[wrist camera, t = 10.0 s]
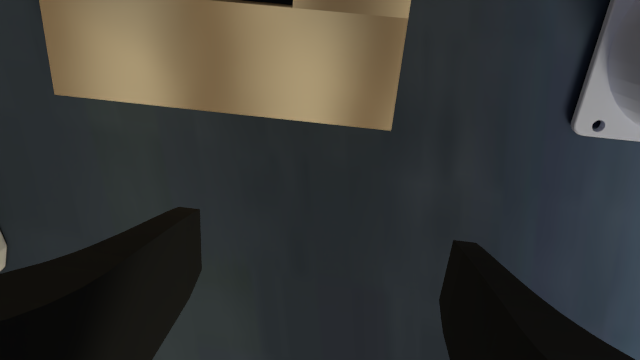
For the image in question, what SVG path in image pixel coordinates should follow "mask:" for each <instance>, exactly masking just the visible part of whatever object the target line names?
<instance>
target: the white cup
mask: <svg viewBox="0 0 640 360" xmlns="http://www.w3.org/2000/svg"><path fill="white" fill-rule="evenodd" d="M6 251H7V245H6V242H5V240H4V238H3V235H2V233H1V231H0V272H1V271H2V269H3V268H4V267H5V264H6Z"/></svg>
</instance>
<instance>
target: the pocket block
mask: <svg viewBox="0 0 640 360" xmlns="http://www.w3.org/2000/svg"><path fill="white" fill-rule="evenodd" d="M39 2H40V8H41V14H42V20H43V27H44V33H45V39H46V45H47V51H48V57H49V63H50V69H51V75H52V82H53V88H54V94H55V95H63V96H73V97H82V98H91V99H101V100H110V101H119V102H129V103H138V104H147V105H157V106H166V107H175V108H185V109H194V110H203V111H213V112H222V113H231V114H241V115H250V116H259V117H269V118H278V119H287V120H296V121H306V122H315V123H324V124H334V125H343V126H352V127H362V128H371V129H380V130H390V131H391V127H392V121H393V114H394V107H395V101H396V94H397V88H398V81H399V75H400V68H401V62H402V55H403V49H404V42H405V36H406V29H407V23H408V16H409V9H410V3H411V0H293V5H286V4H275V3H264V2H254V1H243V0H39Z"/></svg>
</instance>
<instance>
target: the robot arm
mask: <svg viewBox="0 0 640 360" xmlns="http://www.w3.org/2000/svg"><path fill="white" fill-rule="evenodd" d="M597 120H600V121H601V123H600V126H599V127H598V128H596V129H592V125H593V123H594V122H596V121H597ZM571 128H572V130H573V131H574V132H576V133H577V134H579V135H582V136H592V137H601V138H611V139H620V140H630V141H639V142H640V0H610V3H609V6H608V9H607V13H606V16H605V19H604V22H603V25H602V28H601V31H600V34H599V37H598V40H597V43H596V47H595V50H594V53H593V56H592V59H591V62H590V65H589V68H588V71H587V74H586V78H585V81H584V84H583V87H582V90H581V93H580V96H579V99H578V102H577V105H576V108H575V112H574V115H573V118H572V121H571ZM201 270H202V264H201V233H200V209H192V208H184V207H178V208H175V209H172V210H170V211H167V212H165V213H163V214H161V215H159V216H156V217H154V218H152V219H150V220H148V221H146V222H144V223H142V224H139V225H137V226H135V227H133V228H131V229H129V230H127V231H125V232H122V233H120V234H118V235H115V236H113V237H111V238H108V239H106V240H104V241H101V242H99V243H97V244H94V245H92V246H90V247H87V248H84V249H82V250H79V251H76V252H74V253H71V254H68V255H65V256H62V257H59V258H56V259H53V260H50V261H47V262H43V263H40V264H36V265H32V266H29V267H25V268H21V269H17V270H13V271H10V272H6V273H2V274H0V360H152V359H153V357H154V356H155V354H156V352H157V351H158V349H159V347H160V346H161V344H162V343H163V341H164V339H165V338H166V336H167V334H168V333H169V331H170V330H171V328H172V326H173V325H174V323H175V321H176V320H177V318H178V316H179V315H180V313H181V311H182V310H183V308H184V306H185V305H186V303H187V301H188V300H189V298H190V296H191V293H192V291H193V289H194V287H195V284H196V282H197V279H198V277H199V274H200V272H201ZM439 302H440V312H441V321H442V328H443V334H444V338H445V342H446V346H447V350H448V354H449V358H450V360H635V359H633V358H632V357H630V356H628V355H626V354H625V353H623V352H621V351H619V350H618V349H616V348H614V347H612V346H611V345H609V344H607V343H605V342H604V341H602V340H601V339H599V338H597V337H596V336H594V335H592V334H591V333H589V332H588V331H586V330H585V329H583V328H582V327H580V326H579V325H577V324H576V323H574V322H573V321H571V320H570V319H568V318H567V317H565V316H564V315H563V314H561V313H560V312H558V311H557V310H556V309H554V308H553V307H552V306H551V305H549V304H548V303H547V302H545V301H544V300H543V299H542V298H540V297H539V296H538V295H536V294H535V293H534V292H533V291H531V290H530V289H529V288H528V287H527V286H525V285H524V284H523V283H522V282H521V281H520V280H518V279H517V278H516V277H515V276H514V275H513V274H511V273H510V272H509V271H508V270H507V269H506V268H505V267H504V266H502V265H501V264H500V263H499V262H498V261H497V260H496V259H495V258H493V257H492V256H491V255H490V254H489V253H488V252H487V251H485V250H484V249H483V248H482V247H481V246H479V245H478V244H477V243H473V242H464V241H456V240H453V244H452V248H451V253H450V257H449V261H448V265H447V269H446V274H445V278H444V282H443V286H442V290H441V295H440V299H439Z"/></svg>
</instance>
